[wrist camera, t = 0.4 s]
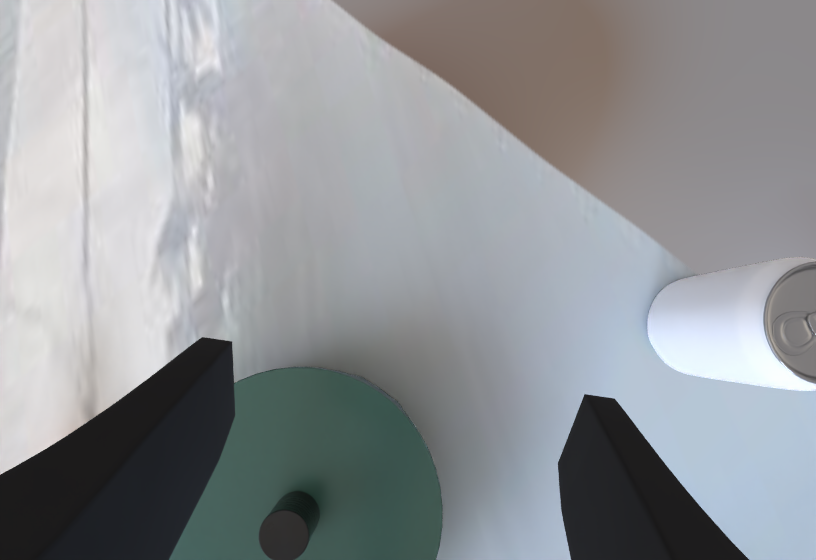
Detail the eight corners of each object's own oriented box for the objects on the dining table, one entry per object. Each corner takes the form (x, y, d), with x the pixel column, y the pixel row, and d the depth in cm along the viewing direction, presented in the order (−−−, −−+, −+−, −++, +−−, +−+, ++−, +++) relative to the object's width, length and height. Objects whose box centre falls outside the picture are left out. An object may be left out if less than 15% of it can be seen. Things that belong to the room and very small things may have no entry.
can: (628, 298, 38) (731, 282, 26) (717, 262, 38) (860, 230, 26) (668, 390, 37) (792, 417, 25) (758, 354, 37) (923, 363, 25)
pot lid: (408, 685, 30) (408, 744, 26) (128, 621, 31) (82, 669, 26) (467, 398, 32) (476, 408, 27) (199, 339, 32) (166, 340, 28)
